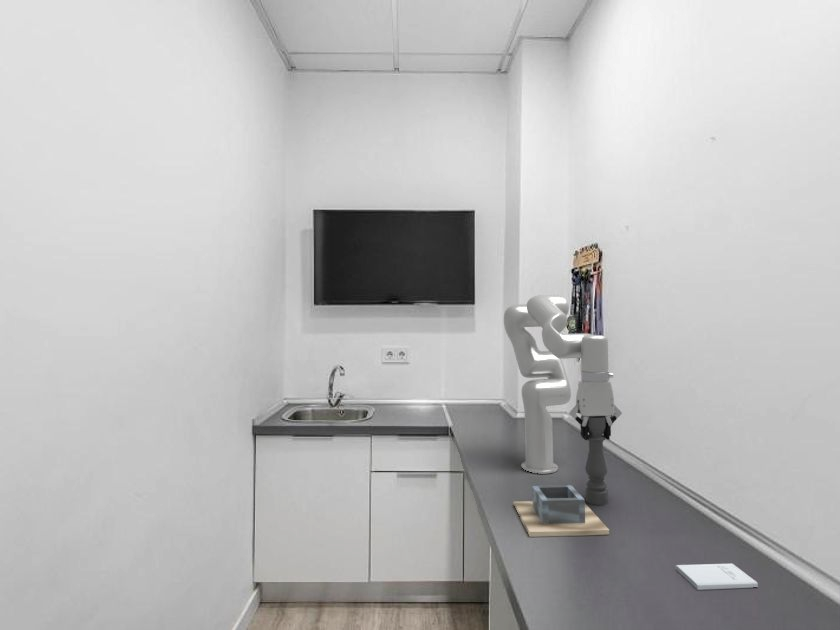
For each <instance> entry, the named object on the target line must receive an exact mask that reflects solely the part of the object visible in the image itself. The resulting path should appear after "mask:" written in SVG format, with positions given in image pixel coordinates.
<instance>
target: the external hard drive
mask: <svg viewBox="0 0 840 630" xmlns="http://www.w3.org/2000/svg"><path fill="white" fill-rule="evenodd" d="M674 566H675V570H676V572H678V573H679V574H680V575H681V576H682V577H683V578H685V579H686V581H688V582H689V583H690V585H692V586H693V587H694V588H695V589H696V591H697V590H698V591H705V590H728V589H729V590H730V589H749V588H751V589H752V588H753V587H757V588H759V583H758V582H757V580H755V579H753V578H752V577H751V576H749V575H748V574H747V573H746V572H744V571H743V570H741V568H739V567H738V566H736V565H735V564H734V563H710V564H709V563H707V564H706V563H705V564H704V563H703V564H676V565H674Z"/></svg>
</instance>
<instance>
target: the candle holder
mask: <svg viewBox="0 0 840 630" xmlns="http://www.w3.org/2000/svg"><path fill="white" fill-rule="evenodd" d="M586 425H587V427H588V440H587V441H588V454H587V458H586V463H585V468H584V469H585V473H586V475H587V476H588V481H587V482H586V487H585V502H587V503H588V504H590V505H595V506H606V505H607V504H608V503H609V497H608V496H609V492H608V488H607V487H608V485H607V483H606V482H605V481H604V480H605V477H606V476H607V474H608V467H607V463H606V458H605V455H604V445H603V443H604V441H606V438H605V437H604V436H603V433H604V431H605V428H606V417H605V416H601V417H589V418H588V421H587V424H586Z"/></svg>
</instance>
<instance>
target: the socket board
mask: <svg viewBox="0 0 840 630" xmlns="http://www.w3.org/2000/svg"><path fill="white" fill-rule="evenodd" d="M531 488H532V490H531V491H532V492H531V493H532V494H531V495H532V497H531V498H532V500H528V501H527V500H525V501H523V500H522V501H513V503H512V504H514V506H515V508H516V510H517V512H518V514H519V515H518V514H517V515H518V517H519V516H520V517H519V519H520V521H521V523H522V524H523V527H524V528H525V531H526V532H528V533H527V534H528V536H529V537H530V538H534V537H535V538H539V537H571V536H572V537H573V536H575V537H577V536H578V537H579V536H610V529H609V528H608V527H607V526H606V524H604V522H603V521H602V520H601V519H600V518H599V516H597V515H596V513H594V511H593V510H592V509H591V508H590V506H588V505H587V503H586V498H584V497H583V496H582V495H581V494H580V493H579V492H578V491H577V490H576V489H575V488H574V486H573V485H571V484H568V485H567V484H565V485H564V484H563V485H562V484H561V485H558V484H557V485H532V487H531ZM514 506H513V507H514ZM515 508H514V509H515ZM516 510H515V511H516ZM517 512H516V513H517Z"/></svg>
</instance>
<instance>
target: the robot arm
mask: <svg viewBox="0 0 840 630" xmlns="http://www.w3.org/2000/svg"><path fill="white" fill-rule="evenodd" d="M569 309H570V307H569V303H568V301H567V300H566V298H565V297H564V296H562V295H559V294H547V295H546V294H545V295H544V294H543V295H540V294H539V295H534V296H532V297H530V298H529V299H528V300H527V302H526V304H523V303H521V304H515V305H511V306H508V307H507V308H506V310H505V311H504V313H503V326H504V329H505V333H506V335H507V337H508V338H509V341H510V342H511V344H512V348H513V352H514V356H515V359H516V362H517V366H518V370H519V372H520V374H521V376H522V377H524V378H527V379H531V380H528V381H526V382H525V383H524V384H523V385H522V387H521V398H522V403H523V410H524V436H525V438H524V440H525V441H524V442H525V443H524V444H525V446H524V449H525V461H523V462H522V463H521V464H520V467H522V468H523V469H524V470H523V469H522V468H521V469H522V470H523V471H525V470H526V471H525V472H527V471H529V472H528V473H530V472H532V473H531V474H537V473H538V474H539V475H547V474H548V475H549V474H553V473H555V472H557V471H558V470H559V469H558V467H559V466H558V464H556V463H554V442H553V441H554V437H553V433H554V432H553V431H554V430H553V417H552V415H551V413H550V412H549V411H548V409H547V407H551V406H552V407H553V406H560V405H561V406H562V405H566V404H568V403H569V402H570V400H571V396H572V389H571V385H570V383H569V378H568V376H567V373H566V370H565V366H564V364H563V359H564V360H565V359H567V360H568V359H580V363H581V364H580V370H581V373H580V375H581V381H578V383H577V388H576V395H575V397H576V398H575V406H574V407H573V408H572V409H571V410H570V411H569V413H568V414H569V416H571V418H573V419H574V420H575V421H576V422H577V423H578V424H579V425H580V436H581V438H582V439H583V440H584V441H588V435H589V433H588V427H587V425H586V424H587V421H588V418H589V417H601V416H605V417H606V428H605V431H604V433H603V436H604V437H605V440H608V441H609V440H610V439H611V438H610V437H611V436H612V426H613V424H614V423H615V422H616V421H617V419H618V418H619V417H620V416H622V414H623V413H622V411H621V410H620V408H618V406H616V405H615V400H614V399H615V398H614V391H613V387H612V382H611V381H610V379H611V378H613V377H614V373H612V372H610V371H609V340H608V338H607V336H605V335H600V334H592V333H561V332H563V331H564V330H565V328H566V327H567V325H568V317H567V315H568V313H569ZM534 327H535V328H537V327H538V328H539V327H540V328H542V330H541V339H542V343H543V345H544V347H545V348H546V350H544V351H542V350H541V351H540V350H539V348H538V346H537V341H536V340H535V338H534V336H533V335H532V334H531V333H530V332H529V331H528V330H526V328H534ZM535 378H536V379H535ZM537 378H538V379H537ZM577 414H579V415H580V417H579V415H577ZM538 474H537V475H538Z"/></svg>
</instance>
